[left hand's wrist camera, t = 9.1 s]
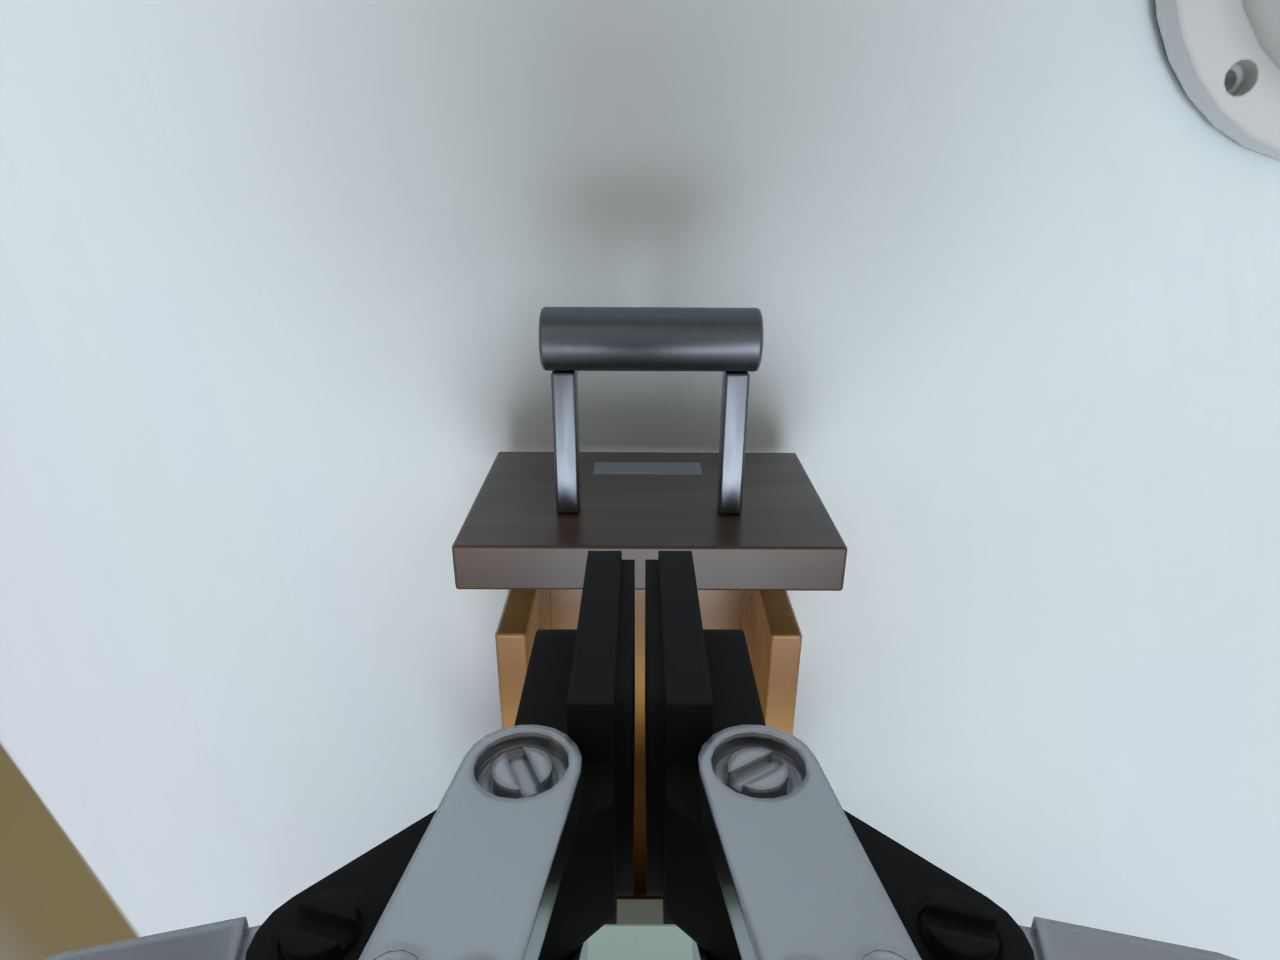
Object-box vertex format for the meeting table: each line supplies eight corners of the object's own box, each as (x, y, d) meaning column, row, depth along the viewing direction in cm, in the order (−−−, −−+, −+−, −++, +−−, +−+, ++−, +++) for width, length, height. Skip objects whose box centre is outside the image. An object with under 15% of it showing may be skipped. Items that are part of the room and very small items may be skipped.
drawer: (486, 281, 22) (429, 323, 16) (810, 282, 22) (875, 325, 16) (527, 879, 31) (500, 1052, 25) (759, 880, 31) (788, 1053, 25)
